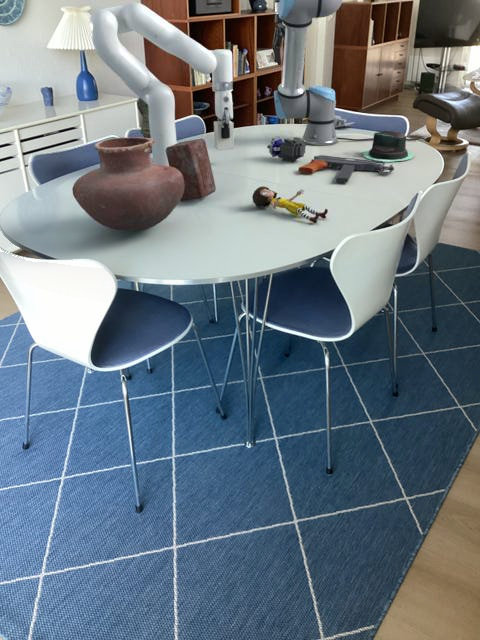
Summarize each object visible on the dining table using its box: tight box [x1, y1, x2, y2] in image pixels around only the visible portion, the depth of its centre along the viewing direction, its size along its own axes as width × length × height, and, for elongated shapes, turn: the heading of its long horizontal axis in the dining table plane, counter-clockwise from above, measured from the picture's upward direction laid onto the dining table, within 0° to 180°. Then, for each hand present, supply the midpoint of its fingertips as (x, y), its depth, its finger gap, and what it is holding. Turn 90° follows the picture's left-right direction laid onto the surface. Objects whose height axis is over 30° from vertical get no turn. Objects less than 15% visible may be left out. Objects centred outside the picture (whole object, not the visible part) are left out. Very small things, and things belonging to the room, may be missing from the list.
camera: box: [334, 100, 355, 128], centre depth 275 cm, size 9×12×15 cm
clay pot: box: [72, 136, 185, 232], centre depth 155 cm, size 30×30×25 cm
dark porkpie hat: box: [362, 130, 414, 163], centre depth 226 cm, size 15×19×20 cm
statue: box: [136, 96, 152, 152], centre depth 237 cm, size 11×9×30 cm
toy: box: [266, 135, 306, 163], centre depth 223 cm, size 9×9×15 cm
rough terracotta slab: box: [166, 138, 217, 202], centre depth 188 cm, size 17×10×40 cm
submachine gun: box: [298, 154, 395, 183], centre depth 205 cm, size 32×3×25 cm
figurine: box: [251, 185, 329, 224], centre depth 169 cm, size 13×8×25 cm
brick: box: [213, 120, 235, 151], centre depth 215 cm, size 5×6×10 cm
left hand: (223, 136), depth 215 cm, fingers closed on brick, 5 cm apart
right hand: (282, 64), depth 265 cm, fingers open, 13 cm apart
